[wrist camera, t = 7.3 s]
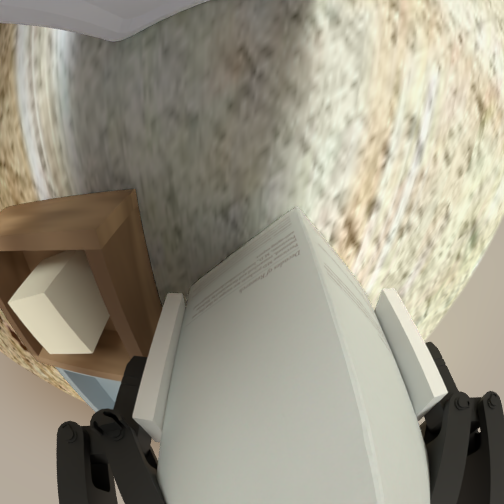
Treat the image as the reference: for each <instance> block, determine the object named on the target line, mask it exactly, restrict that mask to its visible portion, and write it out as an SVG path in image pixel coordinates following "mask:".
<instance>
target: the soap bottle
mask: <svg viewBox="0 0 504 504" xmlns="http://www.w3.org/2000/svg"><path fill="white" fill-rule="evenodd" d="M207 1H209V0H0V23H11V24H24V25H33V26H41V27H48V28H55V29H60V30H66V31H71V32H76V33H80V34H85V35H89V36H93V37H97V38H101V39H104V40H108V41H111V42H115V41H122V40H124V39H126V38H128V37H131V36H133V35H135V34H136V33H138V32H140V31H142V30H144V29H145V28H147V27H149V26H151V25H153V24H155V23H157V22H159V21H161V20H163V19H165V18H168V17H170V16H172V15H174V14H176V13H179V12H181V11H183V10H186V9H188V8H191V7H193V6H196V5H198V4H201V3H204V2H207Z"/></svg>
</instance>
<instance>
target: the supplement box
mask: <svg viewBox="0 0 504 504" xmlns="http://www.w3.org/2000/svg"><path fill="white" fill-rule="evenodd" d="M156 477H157V480H158V483H159V486H160V489H161V492H162V494H163V497H164V500H165V502H166V504H430V473H429V463H428V454H427V449H426V446H425V443H424V439H423V436H422V433H421V430H420V427H419V424H418V420H417V417H416V415H415V412H414V409H413V406H412V403H411V400H410V397H409V395H408V392H407V389H406V386H405V384H404V381H403V378H402V376H401V373H400V371H399V368H398V366H397V363H396V361H395V358H394V356H393V354H392V351H391V349H390V346H389V344H388V342H387V340H386V337H385V335H384V333H383V330H382V328H381V326H380V323H379V321H378V319H377V316H376V314H375V312H374V310H373V307H372V305H371V303H370V301H369V299H368V297H367V295H366V292H365V291H364V289H363V288H362V286H361V285H360V283H359V282H358V280H357V279H356V278H355V276H354V275H353V274H352V272H351V271H350V270H349V268H348V267H347V266H346V264H345V263H344V262H343V261H342V259H341V258H340V257H339V255H338V254H337V253H336V252H335V250H334V249H333V248H332V247H331V245H330V244H329V243H328V242H327V240H326V239H325V238H324V237H323V236H322V234H321V233H320V232H319V231H318V229H317V228H316V227H315V226H314V225H313V223H312V222H311V221H310V220H309V219H308V218H307V216H306V215H305V214H304V213H303V212H302V210H301V209H300V208H299V207H294V208H293V209H291V210H290V211H288V212H287V213H286V214H284V215H283V216H282V217H280V218H279V219H278V220H276V221H275V222H274V223H272V224H271V225H270V226H268V227H267V228H266V229H265V230H263V231H262V232H261V233H259V234H258V235H257V236H255V237H254V238H252V239H251V240H250V241H248V242H247V243H246V244H245V245H243V246H242V247H241V248H239V249H238V250H237V251H235V252H234V253H233V254H231V255H230V256H229V257H228V258H226V259H225V260H224V261H223V262H221V263H220V264H219V265H217V266H216V267H215V268H213V269H212V270H211V271H210V272H208V273H207V274H206V275H204V276H203V277H202V278H201V279H199V280H198V281H197V282H196V283H195V284H193V285H192V286H191V288H190V290H189V294H188V300H187V304H186V309H185V313H184V317H183V322H182V326H181V331H180V336H179V340H178V346H177V351H176V355H175V360H174V366H173V371H172V376H171V382H170V388H169V393H168V398H167V404H166V410H165V416H164V422H163V429H162V436H161V443H160V451H159V458H158V467H157V475H156Z"/></svg>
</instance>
